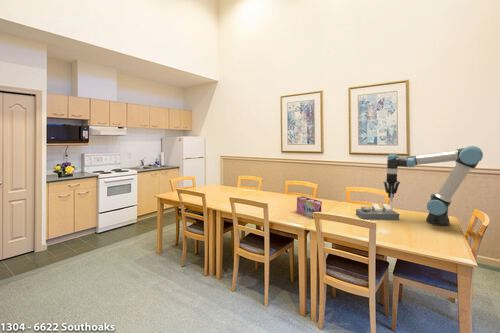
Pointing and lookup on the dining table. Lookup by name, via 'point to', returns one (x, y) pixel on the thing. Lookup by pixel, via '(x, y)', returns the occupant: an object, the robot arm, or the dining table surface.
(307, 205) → the gum box
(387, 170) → the robot arm
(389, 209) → the switch
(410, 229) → the dining table surface
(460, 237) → the dining table surface
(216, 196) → the dining table surface
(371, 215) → the console
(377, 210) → the switch
